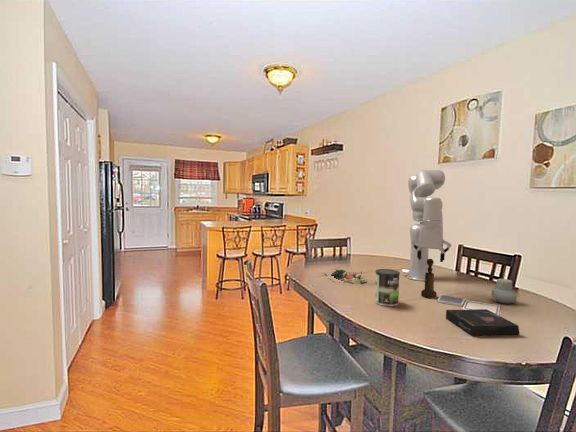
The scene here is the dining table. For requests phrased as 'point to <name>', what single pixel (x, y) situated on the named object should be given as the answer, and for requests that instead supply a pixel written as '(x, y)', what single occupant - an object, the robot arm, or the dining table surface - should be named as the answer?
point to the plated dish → (348, 277)
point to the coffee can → (387, 287)
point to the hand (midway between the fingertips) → (430, 260)
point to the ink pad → (451, 300)
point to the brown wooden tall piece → (429, 282)
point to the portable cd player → (482, 323)
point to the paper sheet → (481, 306)
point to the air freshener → (504, 292)
